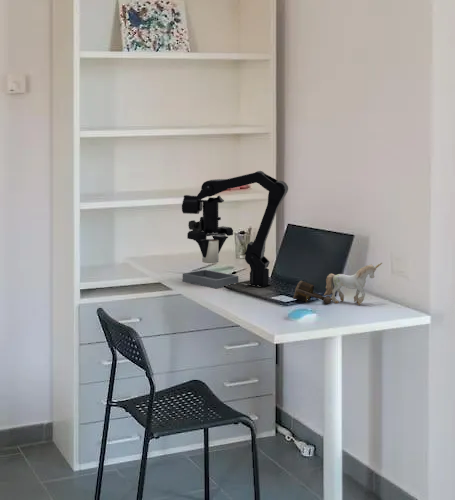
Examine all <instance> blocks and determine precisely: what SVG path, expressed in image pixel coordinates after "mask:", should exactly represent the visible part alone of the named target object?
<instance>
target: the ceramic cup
mask: <svg viewBox="0 0 455 500" xmlns="http://www.w3.org/2000/svg"><path fill="white" fill-rule="evenodd" d="M207 239H208V240H209V244H208V250H207V255H206V257H203V255H202V254H201V256H202V263H204V264H217V263H219V257H220V256H219V253H220V252H219V240H216V239H213V238H207Z"/></svg>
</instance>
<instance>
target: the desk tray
mask: <svg viewBox="0 0 455 500" xmlns="http://www.w3.org/2000/svg"><path fill="white" fill-rule="evenodd" d="M182 282H183V283H189V284H193V285H198V286H202V287H208V288H213V289H220V288H225V287H224V286H225V285H229V284H234V283H238V284H239V275H235V274H232V273H231V274H230V273H225V272H219V271H215V270H214V271H213V270H210V269H209V270H208V269H201V270H200V269H199V270H196V271H194V270H193V271H188V272H186V273H185V272H184V273H182Z"/></svg>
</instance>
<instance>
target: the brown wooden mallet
mask: <svg viewBox="0 0 455 500" xmlns="http://www.w3.org/2000/svg"><path fill="white" fill-rule="evenodd" d="M294 289H295V290H294V295H293V297H292V300H293V299H294V300H299V301H302V302H304V303H308V302H310V300H311V298H314V299H317V300H321V301H323V304H326V305H329V304H330V303H331V302H332V300H331V297H330V295H325V296H324V295H321V294H318V293H316V292H314V289H315V286H314V284H312V283H309V282H307V281H303V280H300V281H299V282H297V284H296V287H295V288H294ZM307 299H308V300H307Z"/></svg>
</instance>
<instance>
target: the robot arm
mask: <svg viewBox="0 0 455 500" xmlns="http://www.w3.org/2000/svg"><path fill="white" fill-rule="evenodd" d="M255 183H257V184H258V185H260V186H261V187H262V188H264V190H266V191H268V196H267V205H266V206H265V207H266V208H265V210H264V213H263V216H262V219H261V221H260V224H259V227H258V230H257V233H256V236H255V238H254V239H253V241H250V242H249V243H247V246H246V250H245V252H244V253H243V255H244V260H245V262H246V263H247V265H249V268H250V271H249V283H247V285H248V284H251V285H255V286H257V285H259V286H264V287H268V286H267V285H269V286H272V283H270V281H269V280H270V279H269V278H270V277H269V276H270V269H268V267H269V265H270V263H271V262H270V261H269V259H268V258H267V257H266V256H265V253H266V252H265V251H266V242H267V239H268V236H269V233H270V230H271V228H272V225H273V223H274V220H275V217H276V214H277V212H278V208H279V206H280V205H281V204H282V201H284V199H285V197H286V195H287V193H288V192H289V186H288V184H287V183H286V182H285V181H283V180H278V179H276V178H274V177H272V176H270V175H268V174H267V173H265V172H264V171H263V170H262V171H261V170H257V171H256V172H252V173H246V174H243V175H238V176H234V177H230V178H221V179H220V178H218V179H209V180H206V181H204V182H203V183H202V185H201V186H200V187H201V188H200V189H201V190H200V191H199V193H198V194H197V195H190V194H184V195H183V199H182V203H181V212H182V213H183V214H189V215H199V214H200V212H202V216H200V218H199V221H196V220H189V221H188V224H187V225H188V229H189V231H188V232H187V236H186V237H187V239H189V240H192V241H195V242H196V243H197V244H198V247H199V249H200V252H201V256H202V255H203V257H206V255H207V250H208V244H209V240H208V239H209V238H207V237H212V239H216V240H219V253H220V252H221V250H222V247H223V246H224V244H225V242H226V240H227V239H229V236H233V235H234V229H233V228H232V227H230V226H224V225H223V226H219V221H221V220H222V219H221V216H219V204H220V203H224V202H225V199H224V198H222V197H221V195H218V194H220V193H222V192H225V191H227V190H229V189H230V190H231V189H235V188H240V187H244V186H247V185H251V184H255ZM215 195H218V196H217V197H212V196H215ZM207 197H208V198H207ZM206 198H207V199H206ZM255 286H254V287H255Z"/></svg>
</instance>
